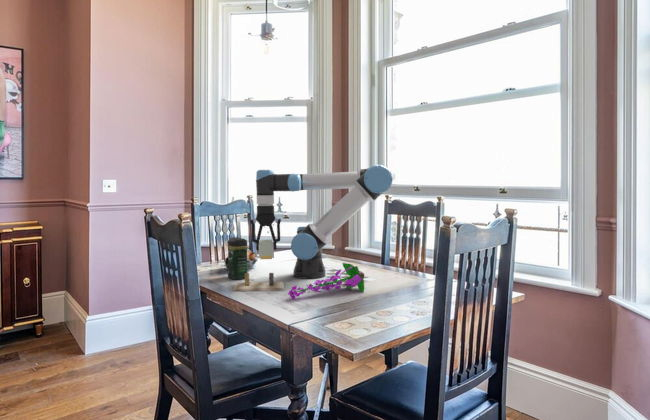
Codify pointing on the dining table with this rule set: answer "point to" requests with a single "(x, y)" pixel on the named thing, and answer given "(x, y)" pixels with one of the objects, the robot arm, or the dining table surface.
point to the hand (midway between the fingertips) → (266, 257)
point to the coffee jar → (237, 258)
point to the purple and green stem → (334, 281)
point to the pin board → (259, 285)
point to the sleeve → (266, 249)
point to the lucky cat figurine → (250, 259)
